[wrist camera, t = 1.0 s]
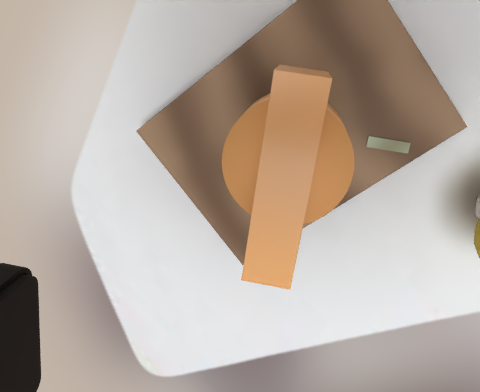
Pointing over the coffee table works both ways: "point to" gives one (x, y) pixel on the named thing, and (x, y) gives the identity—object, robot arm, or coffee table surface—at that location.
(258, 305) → the coffee table surface
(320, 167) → the orange bar knob
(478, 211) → the light bulb
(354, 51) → the post board
